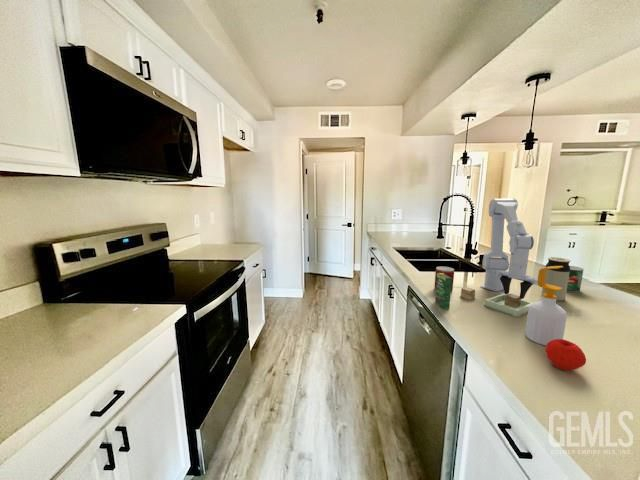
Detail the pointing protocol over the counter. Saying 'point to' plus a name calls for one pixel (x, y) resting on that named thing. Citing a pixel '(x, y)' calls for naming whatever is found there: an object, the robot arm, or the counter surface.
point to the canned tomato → (574, 279)
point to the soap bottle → (546, 314)
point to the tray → (499, 305)
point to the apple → (565, 354)
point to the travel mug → (557, 276)
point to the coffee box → (443, 290)
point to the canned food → (446, 271)
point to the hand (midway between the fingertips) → (514, 296)
